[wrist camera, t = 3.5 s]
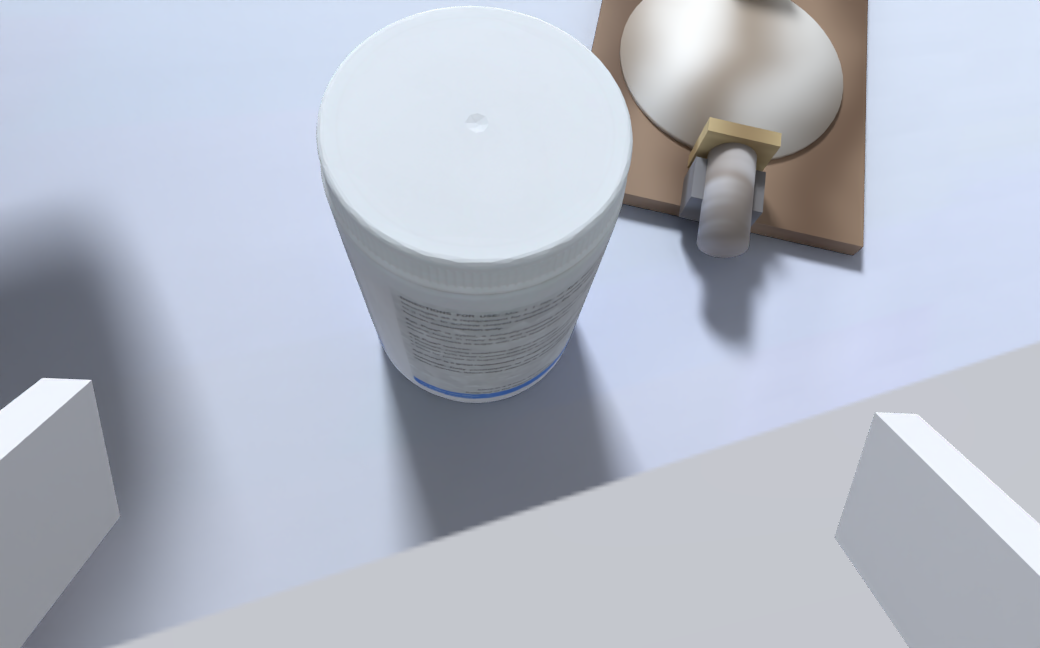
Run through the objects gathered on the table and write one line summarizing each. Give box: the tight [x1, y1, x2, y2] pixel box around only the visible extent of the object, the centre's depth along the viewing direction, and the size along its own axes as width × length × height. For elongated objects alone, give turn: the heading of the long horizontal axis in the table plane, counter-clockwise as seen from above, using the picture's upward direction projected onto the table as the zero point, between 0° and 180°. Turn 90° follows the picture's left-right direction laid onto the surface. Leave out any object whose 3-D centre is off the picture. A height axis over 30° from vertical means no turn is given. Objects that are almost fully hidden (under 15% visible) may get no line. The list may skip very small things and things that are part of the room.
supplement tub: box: [316, 6, 633, 403], centre depth 26 cm, size 10×10×15 cm
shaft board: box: [591, 0, 868, 258], centre depth 37 cm, size 16×26×5 cm, turn 168°
